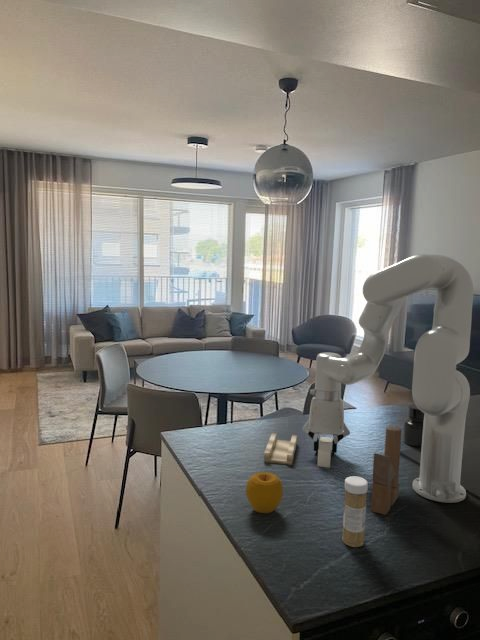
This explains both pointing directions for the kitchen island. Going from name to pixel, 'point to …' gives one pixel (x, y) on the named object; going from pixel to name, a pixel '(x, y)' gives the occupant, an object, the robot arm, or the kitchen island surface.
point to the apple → (264, 492)
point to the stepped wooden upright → (386, 473)
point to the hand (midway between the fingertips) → (325, 453)
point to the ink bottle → (414, 426)
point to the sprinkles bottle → (354, 511)
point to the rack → (280, 450)
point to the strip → (324, 452)
